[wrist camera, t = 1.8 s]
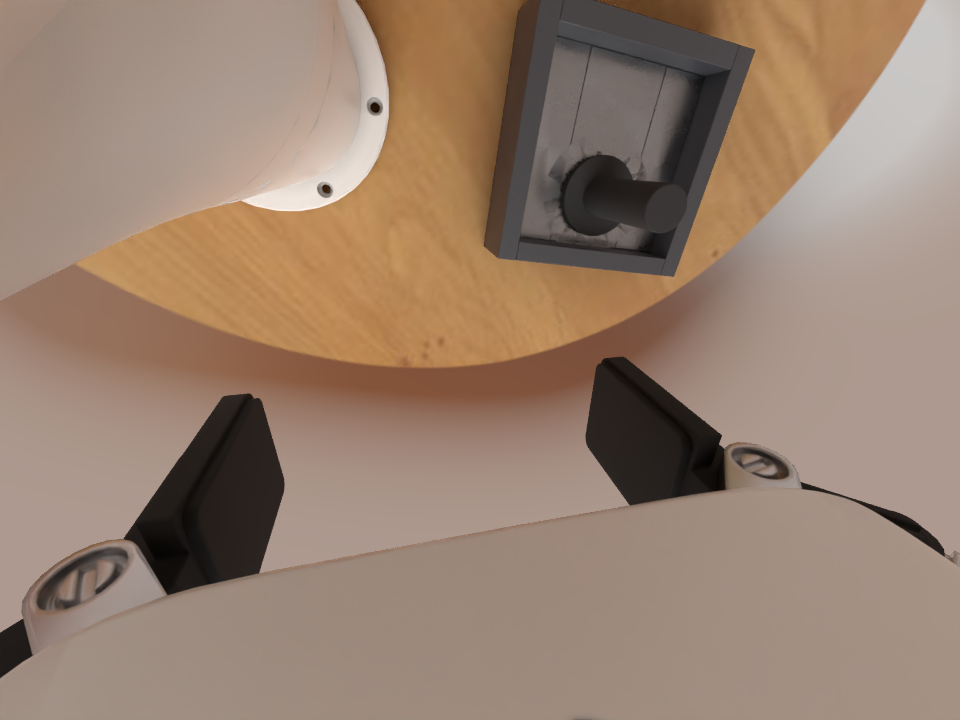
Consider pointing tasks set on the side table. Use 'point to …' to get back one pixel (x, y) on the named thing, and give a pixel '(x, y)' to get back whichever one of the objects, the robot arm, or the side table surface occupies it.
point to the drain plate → (606, 132)
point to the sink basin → (548, 13)
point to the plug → (618, 199)
